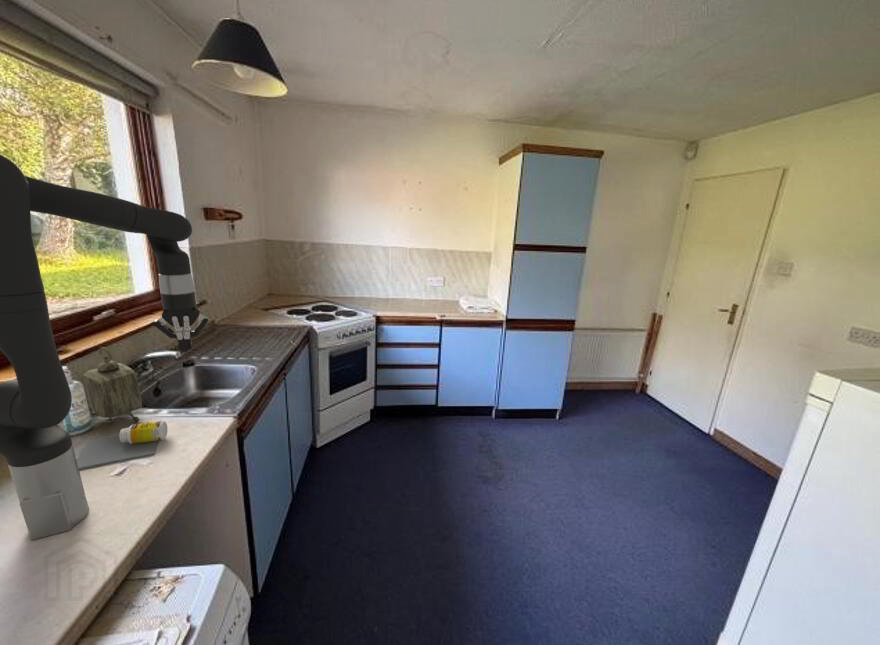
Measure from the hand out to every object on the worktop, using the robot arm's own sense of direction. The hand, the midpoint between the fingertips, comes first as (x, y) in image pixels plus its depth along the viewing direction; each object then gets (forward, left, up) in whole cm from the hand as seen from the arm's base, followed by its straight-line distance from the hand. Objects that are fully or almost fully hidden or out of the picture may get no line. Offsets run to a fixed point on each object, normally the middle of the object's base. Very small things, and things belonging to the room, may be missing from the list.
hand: (186, 350), depth 102 cm
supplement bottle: (+4, +8, -26) cm, 27 cm away
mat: (+4, +19, -29) cm, 35 cm away
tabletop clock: (+22, +24, -29) cm, 44 cm away
